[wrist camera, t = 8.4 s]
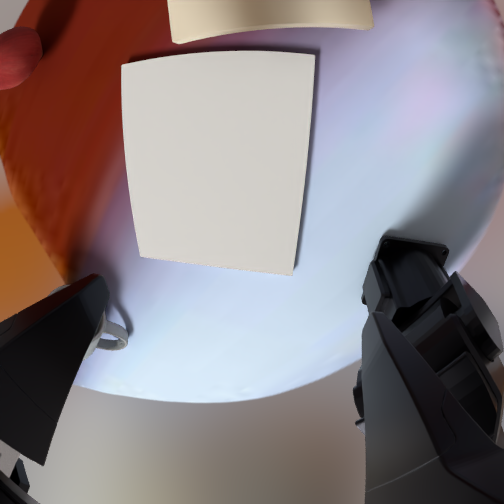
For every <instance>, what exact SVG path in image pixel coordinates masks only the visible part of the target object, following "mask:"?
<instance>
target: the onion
mask: <svg viewBox="0 0 504 504" xmlns="http://www.w3.org/2000/svg"><path fill="white" fill-rule="evenodd" d="M42 55H43V50H42V45H41V40H40V37H39V34H38V33H37V32H36V31H35V30H33V29H31V28H29V27H15V28H12V29H10V30H7V31H5V32H3V33H2V34H0V90H2V89H9V88H13V87H15V86H18V85H19V84H20V83H22V82H23V81H24V80H25V79H26V78H28V77H29V76H30V74H31V73H32V72H33V70H34V69H35V67H36V66H37V64H38V62H39V61H40V59H41V58H42Z"/></svg>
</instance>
